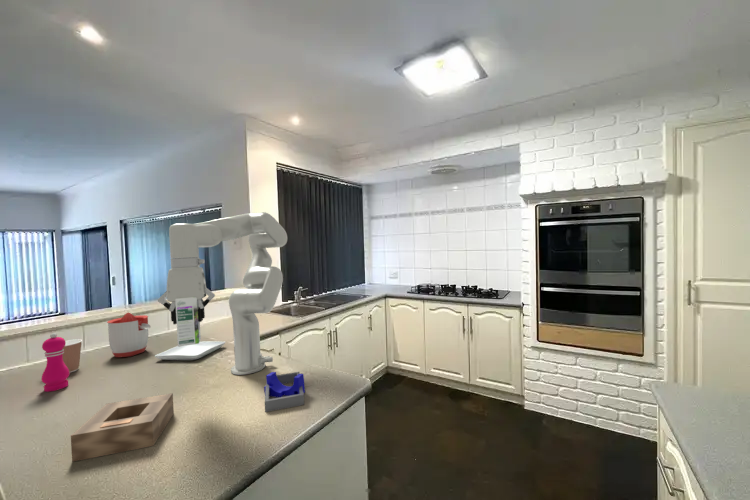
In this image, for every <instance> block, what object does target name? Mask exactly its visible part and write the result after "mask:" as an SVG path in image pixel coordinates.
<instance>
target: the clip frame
mask: <svg viewBox="0 0 750 500" xmlns="http://www.w3.org/2000/svg"><path fill="white" fill-rule="evenodd" d="M298 374H301V372H300V371H294V372H289V373H288V372H287V373H281V374H276V376H277V378H278V380H279V381H280V382H281V383H282V384H283V385H287V384H291V383H294V377H295V376H297V375H298ZM265 386H266V390H265V392H264V412H265V413H268V412H272V411H277V410H284V409H289V408H294V407H298V406H305V394H304V393H303V388H302V386H301V387H300V388H299V394H296V395H291V396H285V395H284V396H282V397H273V398H270V397H271V396H270V392H269V384H267V379H266V380H265Z"/></svg>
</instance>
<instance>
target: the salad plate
mask: <svg viewBox="0 0 750 500" xmlns="http://www.w3.org/2000/svg"><path fill="white" fill-rule="evenodd" d="M225 344H226V341H221V340H220V341H218V340H217V341H215V340H213V341H212V340H211V341H207V340H206V341H201V340H200V342H199V344H193V345H185V346H180V347H178V345H176V346H174V347H171V348H169V349H167V350H165V351H162V352H160V353H157V354H155V355H154V357H155V358H156V359H158V360H159V359H160V360H165V361H166V360H167V361H194V360H199V359H200V358H203V357H205V356H206V355H208V354H211V353H213V352H214V351H216V350H218V349H220V348H221V347H223V346H224V345H225Z"/></svg>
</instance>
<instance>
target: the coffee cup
mask: <svg viewBox="0 0 750 500" xmlns="http://www.w3.org/2000/svg"><path fill="white" fill-rule="evenodd" d="M65 342H66V344H65V346H64V347H63V349H64V353H63V361H64V363H65V365H66V366H67V368H68V369H69V373H70V374H71V373H74V372H76V371H78V370H79V367H80V361H81V354H82V353H81V350H82V342H83V339H81V338H80V339H79V338H77V339H69V340H68V339H67V340H65Z"/></svg>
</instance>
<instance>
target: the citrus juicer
mask: <svg viewBox="0 0 750 500" xmlns="http://www.w3.org/2000/svg"><path fill="white" fill-rule="evenodd" d="M106 323H107V326H108V328H107V331H108V342H109V347H110V350H111V352H112V354H113V356H114V357H115V358H127V357H134V356H135V355H139V354H142V353H144V352H145V351H146V349H147V345H148V342H149V329H151V325H150V324H149V316H148V315H144V314H142V315H134V314H132V313H131V312H125V314H124V315H123V316H122V317H118V318H113V319H110V320H107V322H106Z"/></svg>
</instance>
